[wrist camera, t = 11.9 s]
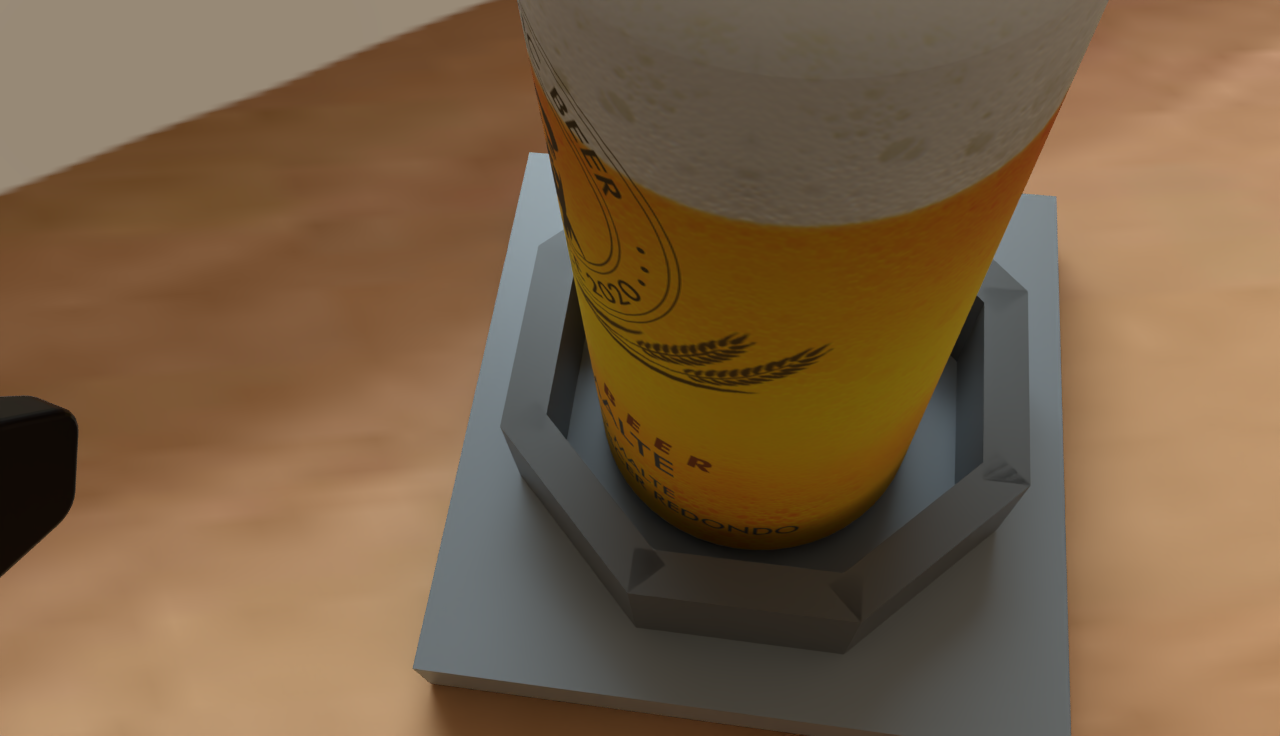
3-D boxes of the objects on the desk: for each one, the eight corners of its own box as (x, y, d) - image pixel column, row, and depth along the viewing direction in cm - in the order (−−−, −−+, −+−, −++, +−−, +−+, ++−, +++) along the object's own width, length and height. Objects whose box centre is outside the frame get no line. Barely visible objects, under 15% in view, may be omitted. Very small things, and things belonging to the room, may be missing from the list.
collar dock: (1047, 768, 21) (1119, 738, 17) (430, 683, 22) (377, 639, 18) (1037, 233, 26) (1091, 125, 22) (538, 190, 27) (513, 80, 24)
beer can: (578, 325, 24) (417, -435, 10) (850, 262, 24) (1035, -554, 11) (644, 596, 21) (541, 46, 8) (947, 520, 21) (1362, -131, 8)
